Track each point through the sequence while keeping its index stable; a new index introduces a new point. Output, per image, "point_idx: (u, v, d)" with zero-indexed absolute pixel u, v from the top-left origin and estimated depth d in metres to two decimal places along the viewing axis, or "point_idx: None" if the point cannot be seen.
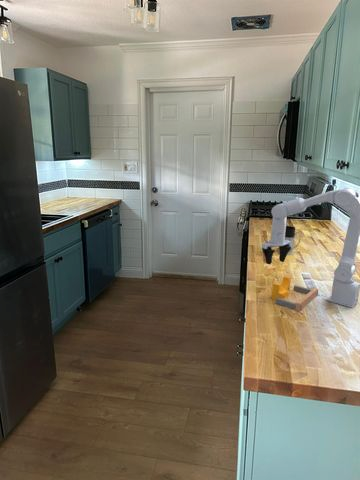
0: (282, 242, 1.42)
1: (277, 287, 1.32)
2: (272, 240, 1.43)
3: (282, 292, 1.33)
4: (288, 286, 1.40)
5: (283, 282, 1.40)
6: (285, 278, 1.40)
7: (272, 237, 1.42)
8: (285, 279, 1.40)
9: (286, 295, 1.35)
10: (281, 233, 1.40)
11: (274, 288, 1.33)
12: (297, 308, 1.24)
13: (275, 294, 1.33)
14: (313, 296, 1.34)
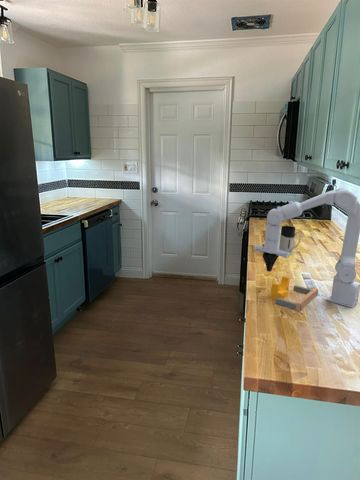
0: (268, 249, 1.35)
1: (276, 287, 1.32)
2: None
3: (281, 292, 1.33)
4: (286, 286, 1.40)
5: (282, 282, 1.41)
6: (284, 278, 1.40)
7: None
8: (284, 279, 1.40)
9: (285, 295, 1.35)
10: (267, 239, 1.35)
11: (273, 288, 1.33)
12: (297, 308, 1.24)
13: (274, 294, 1.33)
14: (313, 296, 1.34)
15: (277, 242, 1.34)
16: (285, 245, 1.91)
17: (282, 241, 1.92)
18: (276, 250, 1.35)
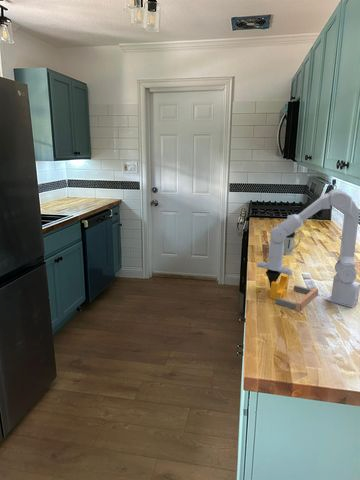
0: (272, 266, 1.35)
1: (275, 286, 1.32)
2: None
3: (280, 291, 1.33)
4: (285, 285, 1.40)
5: (281, 281, 1.41)
6: (283, 277, 1.41)
7: None
8: (283, 278, 1.41)
9: (284, 294, 1.35)
10: (270, 256, 1.35)
11: (272, 287, 1.33)
12: (297, 308, 1.24)
13: (273, 293, 1.34)
14: (313, 296, 1.34)
15: (280, 259, 1.35)
16: (285, 245, 1.91)
17: None
18: (279, 267, 1.35)
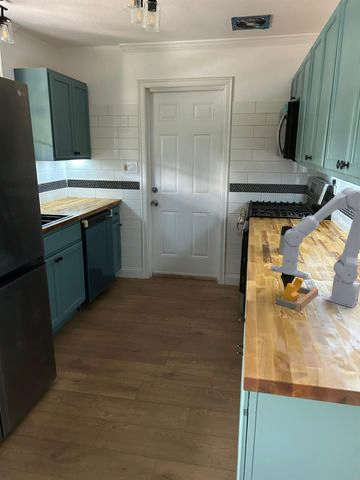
0: (287, 270, 1.32)
1: (291, 288, 1.29)
2: None
3: (294, 294, 1.30)
4: (298, 288, 1.37)
5: (295, 283, 1.37)
6: (298, 279, 1.37)
7: None
8: (298, 280, 1.37)
9: (296, 297, 1.32)
10: (285, 260, 1.31)
11: (287, 289, 1.30)
12: (297, 308, 1.24)
13: (286, 294, 1.30)
14: (313, 296, 1.34)
15: (295, 263, 1.31)
16: None
17: (282, 241, 1.92)
18: (294, 271, 1.31)
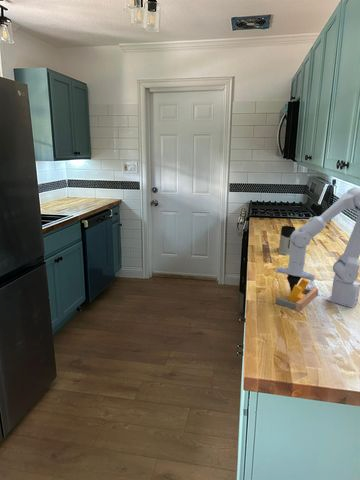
0: (293, 272, 1.30)
1: (298, 290, 1.27)
2: None
3: (300, 296, 1.29)
4: (304, 289, 1.36)
5: (300, 284, 1.36)
6: (303, 281, 1.35)
7: None
8: (303, 282, 1.35)
9: None
10: (292, 261, 1.29)
11: (294, 290, 1.28)
12: (297, 308, 1.24)
13: (293, 296, 1.29)
14: (313, 296, 1.34)
15: (302, 264, 1.29)
16: (285, 245, 1.91)
17: (282, 241, 1.92)
18: (301, 273, 1.30)
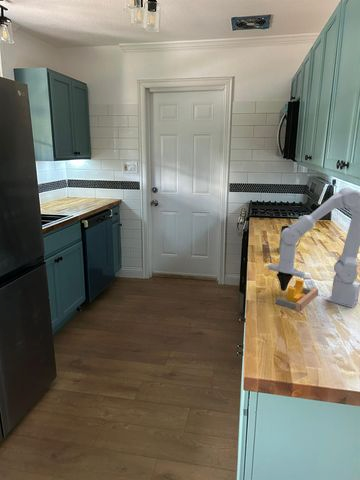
0: (283, 269, 1.32)
1: (292, 291, 1.28)
2: None
3: (297, 296, 1.29)
4: (301, 289, 1.36)
5: (296, 286, 1.37)
6: (298, 281, 1.37)
7: None
8: (298, 282, 1.37)
9: None
10: (282, 258, 1.32)
11: (289, 292, 1.29)
12: (297, 308, 1.24)
13: (290, 299, 1.29)
14: (313, 296, 1.34)
15: (292, 262, 1.31)
16: None
17: None
18: (291, 270, 1.32)
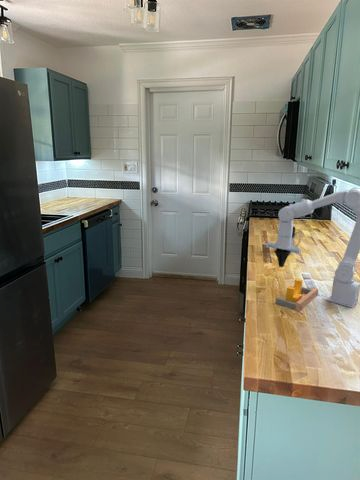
0: (281, 245, 1.39)
1: (291, 291, 1.29)
2: None
3: (296, 296, 1.29)
4: (300, 289, 1.36)
5: (295, 285, 1.37)
6: (297, 281, 1.37)
7: None
8: (297, 282, 1.37)
9: None
10: (280, 235, 1.38)
11: (288, 292, 1.29)
12: (297, 308, 1.24)
13: (289, 298, 1.30)
14: (313, 296, 1.34)
15: (289, 238, 1.38)
16: None
17: None
18: (288, 246, 1.39)
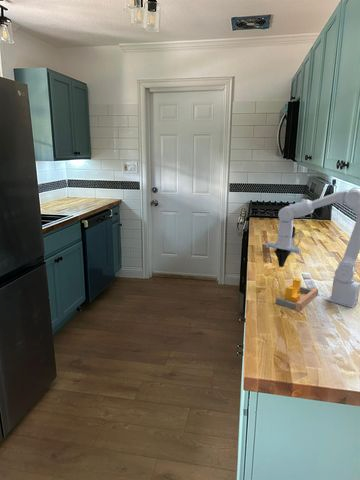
0: (281, 245, 1.39)
1: (290, 291, 1.29)
2: None
3: (295, 296, 1.30)
4: (298, 289, 1.37)
5: (293, 285, 1.37)
6: (295, 281, 1.37)
7: None
8: (295, 282, 1.37)
9: (298, 299, 1.32)
10: (280, 235, 1.38)
11: (287, 292, 1.30)
12: (297, 308, 1.24)
13: (288, 298, 1.30)
14: (313, 296, 1.34)
15: (289, 238, 1.38)
16: None
17: None
18: (288, 246, 1.39)
